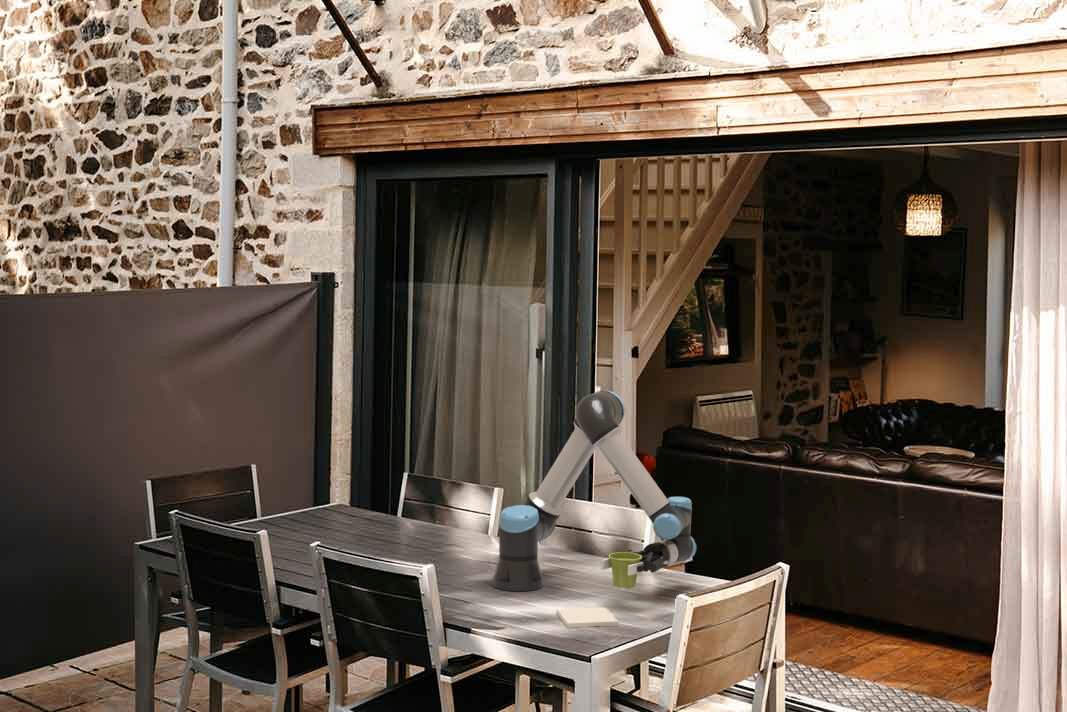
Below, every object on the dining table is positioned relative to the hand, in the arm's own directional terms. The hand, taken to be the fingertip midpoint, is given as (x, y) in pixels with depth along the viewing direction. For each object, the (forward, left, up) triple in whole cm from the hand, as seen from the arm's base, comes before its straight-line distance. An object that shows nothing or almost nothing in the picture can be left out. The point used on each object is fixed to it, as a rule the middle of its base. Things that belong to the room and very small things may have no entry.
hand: (615, 567), depth 349 cm
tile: (+7, -10, -12) cm, 17 cm away
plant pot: (-3, +3, -6) cm, 8 cm away
